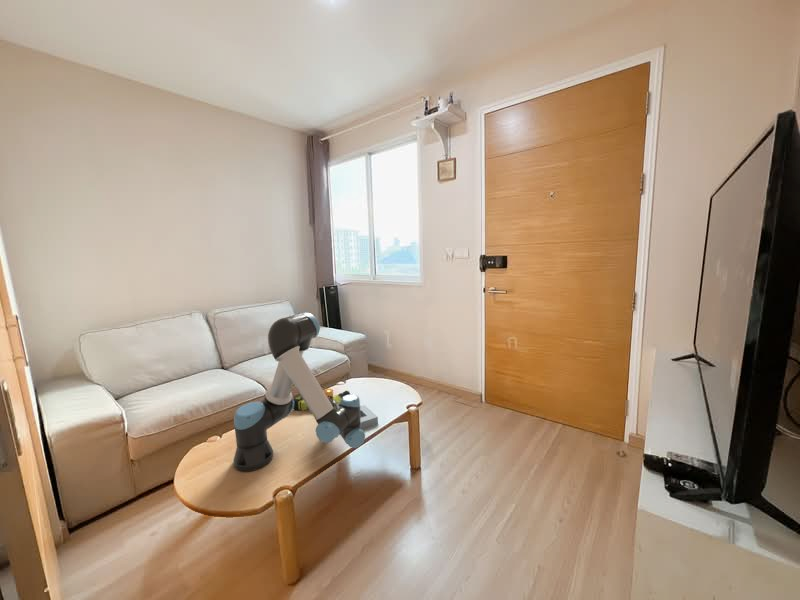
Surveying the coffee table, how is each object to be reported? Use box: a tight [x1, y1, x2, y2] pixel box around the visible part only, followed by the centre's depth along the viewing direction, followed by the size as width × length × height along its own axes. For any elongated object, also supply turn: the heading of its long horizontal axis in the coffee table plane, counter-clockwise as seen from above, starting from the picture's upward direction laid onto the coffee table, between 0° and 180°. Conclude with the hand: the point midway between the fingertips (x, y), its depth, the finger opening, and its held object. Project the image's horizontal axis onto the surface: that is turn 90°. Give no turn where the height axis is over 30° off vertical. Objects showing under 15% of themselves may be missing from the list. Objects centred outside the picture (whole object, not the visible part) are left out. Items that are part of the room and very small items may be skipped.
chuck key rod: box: [322, 388, 334, 408], centre depth 155 cm, size 5×5×18 cm
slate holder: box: [360, 404, 379, 430], centre depth 166 cm, size 15×15×4 cm
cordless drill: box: [293, 390, 351, 412], centre depth 184 cm, size 7×25×25 cm
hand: (324, 401), depth 159 cm, fingers closed on chuck key rod, 5 cm apart
